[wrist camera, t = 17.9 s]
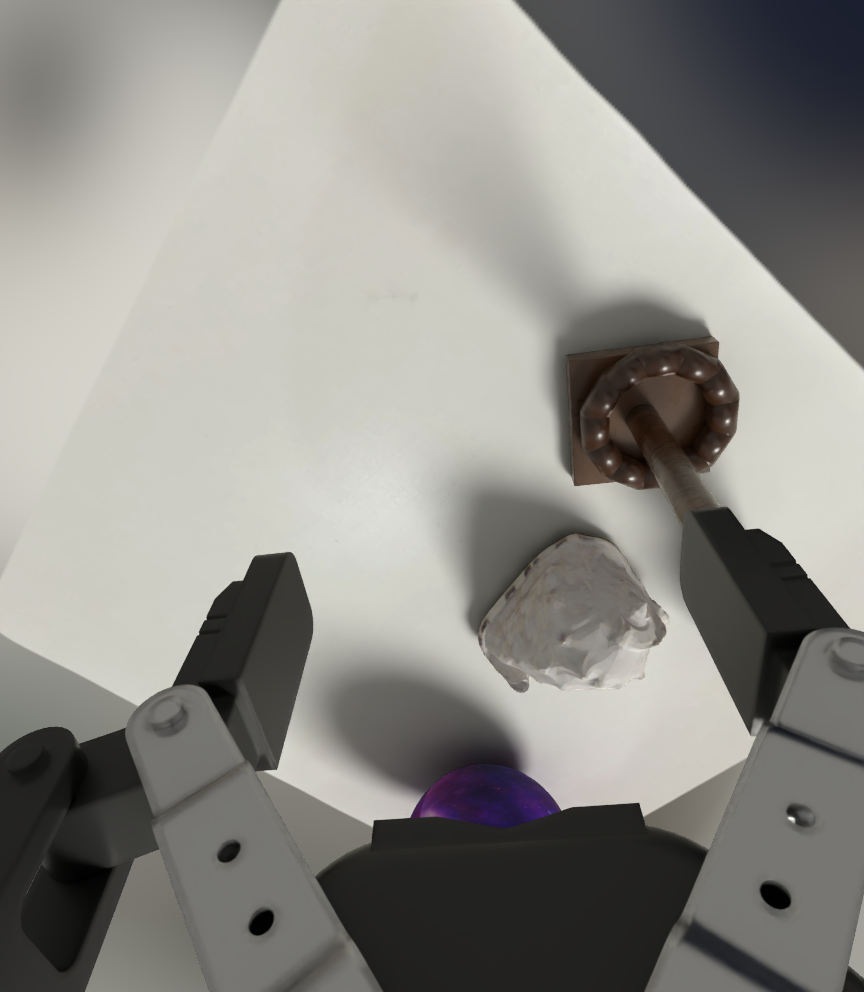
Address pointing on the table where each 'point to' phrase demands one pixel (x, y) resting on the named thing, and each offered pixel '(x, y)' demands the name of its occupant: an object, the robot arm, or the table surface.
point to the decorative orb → (486, 797)
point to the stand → (646, 425)
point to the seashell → (573, 620)
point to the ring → (653, 364)
